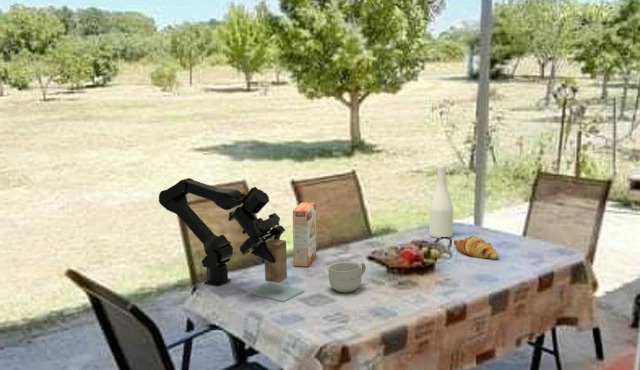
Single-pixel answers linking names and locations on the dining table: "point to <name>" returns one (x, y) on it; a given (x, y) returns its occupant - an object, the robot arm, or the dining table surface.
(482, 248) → the croissant
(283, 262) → the walnut block
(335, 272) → the teacup
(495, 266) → the dining table surface
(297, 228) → the cracker box
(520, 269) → the dining table surface
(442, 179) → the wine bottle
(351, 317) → the dining table surface
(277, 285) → the slate mat
